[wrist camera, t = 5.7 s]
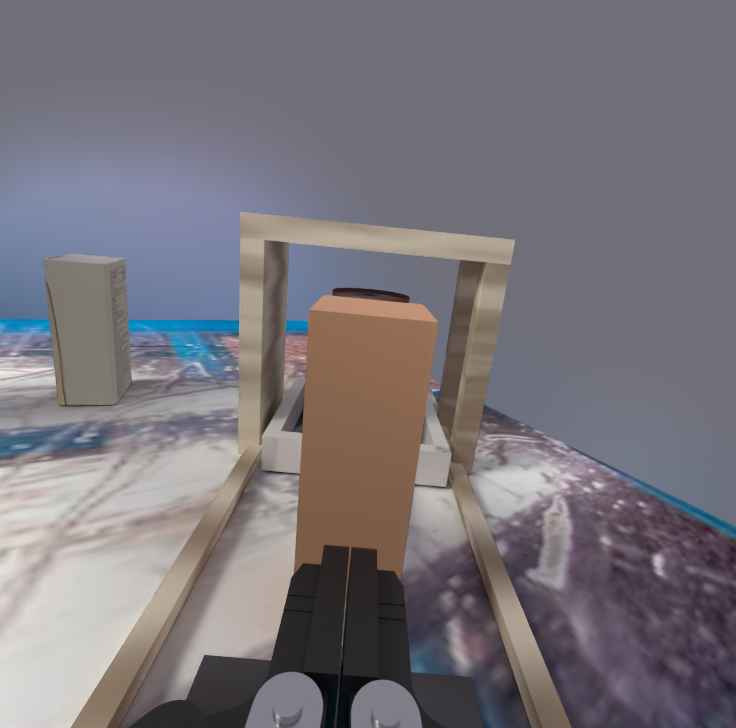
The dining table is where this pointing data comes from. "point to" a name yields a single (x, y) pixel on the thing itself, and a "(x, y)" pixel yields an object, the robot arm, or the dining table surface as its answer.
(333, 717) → the robot arm
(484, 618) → the dining table surface
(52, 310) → the skincare box
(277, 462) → the white open box
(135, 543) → the dining table surface
